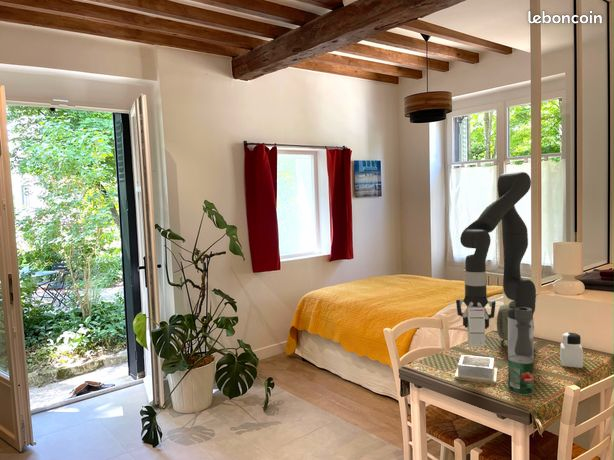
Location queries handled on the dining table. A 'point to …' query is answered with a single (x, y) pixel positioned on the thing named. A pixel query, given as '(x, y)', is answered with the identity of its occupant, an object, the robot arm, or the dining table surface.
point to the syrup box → (476, 326)
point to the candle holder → (523, 331)
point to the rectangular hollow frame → (476, 369)
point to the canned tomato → (520, 375)
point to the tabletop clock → (504, 320)
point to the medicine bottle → (571, 350)
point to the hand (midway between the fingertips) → (475, 327)
